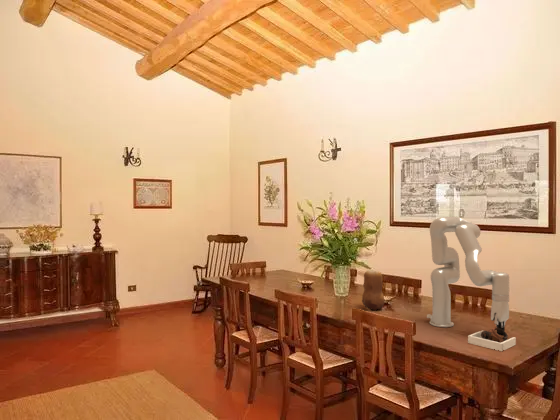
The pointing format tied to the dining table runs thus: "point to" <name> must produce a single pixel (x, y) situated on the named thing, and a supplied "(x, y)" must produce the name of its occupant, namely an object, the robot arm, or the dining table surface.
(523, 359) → the dining table surface
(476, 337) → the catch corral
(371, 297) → the butternut squash
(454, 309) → the dining table surface
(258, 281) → the dining table surface
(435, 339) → the dining table surface
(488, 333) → the pottery mug
